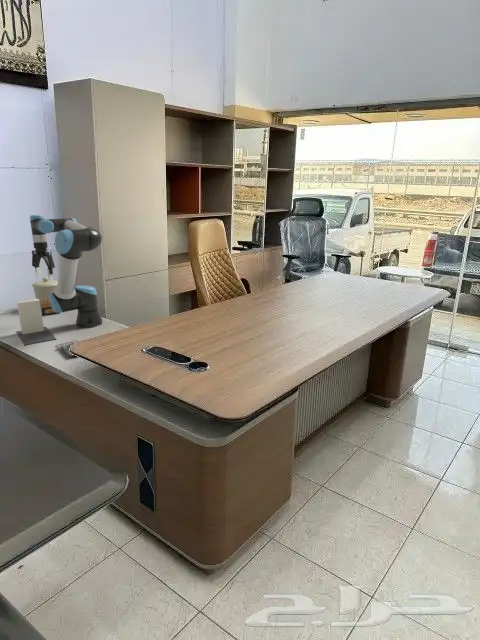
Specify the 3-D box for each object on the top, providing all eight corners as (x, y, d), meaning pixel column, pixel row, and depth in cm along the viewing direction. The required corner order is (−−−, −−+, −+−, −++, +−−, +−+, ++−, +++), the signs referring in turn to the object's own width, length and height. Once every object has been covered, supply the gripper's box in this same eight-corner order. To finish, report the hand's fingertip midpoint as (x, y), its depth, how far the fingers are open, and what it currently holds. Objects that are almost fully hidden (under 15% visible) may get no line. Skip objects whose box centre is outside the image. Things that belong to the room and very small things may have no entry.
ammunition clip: (59, 312, 287) (57, 295, 283) (60, 313, 285) (57, 295, 282) (41, 315, 281) (39, 297, 278) (42, 316, 280) (39, 297, 276)
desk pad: (15, 332, 249) (15, 331, 249) (45, 327, 258) (45, 326, 258) (24, 345, 229) (24, 344, 228) (56, 339, 237) (56, 338, 237)
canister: (54, 302, 312) (51, 273, 305) (68, 306, 301) (65, 276, 294) (29, 307, 298) (25, 277, 292) (43, 312, 287) (39, 281, 281)
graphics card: (54, 344, 222) (78, 339, 229) (55, 351, 223) (78, 346, 230) (63, 355, 209) (88, 349, 216) (64, 362, 210) (89, 356, 217)
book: (21, 332, 247) (16, 301, 241) (42, 329, 253) (38, 298, 248) (22, 334, 244) (18, 303, 239) (44, 330, 250) (39, 300, 245)
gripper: (58, 241, 259) (63, 279, 266) (32, 239, 268) (37, 276, 274) (48, 243, 253) (53, 281, 259) (21, 241, 261) (27, 278, 268)
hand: (45, 278), depth 267 cm, fingers open, 9 cm apart
